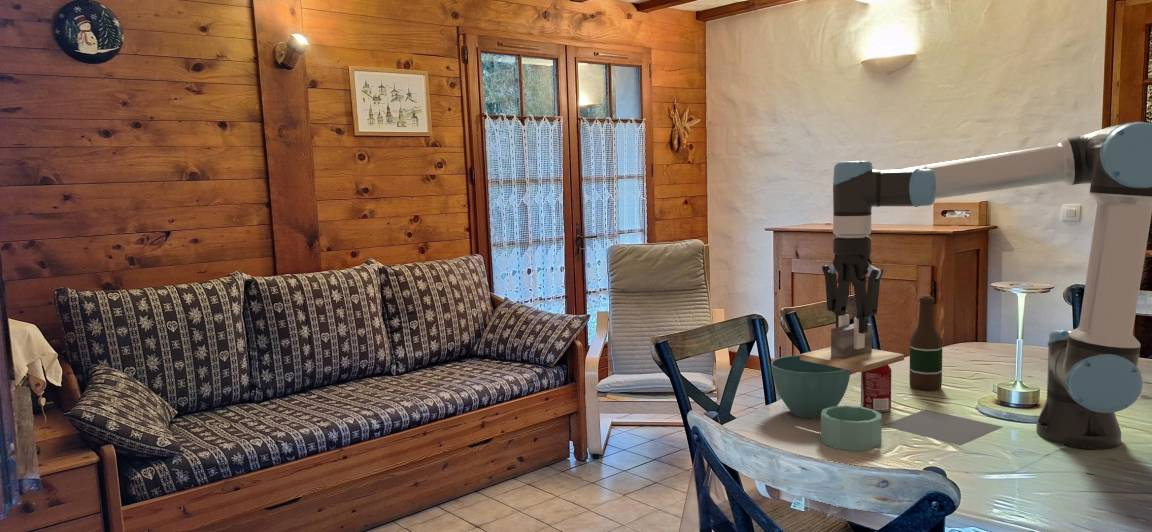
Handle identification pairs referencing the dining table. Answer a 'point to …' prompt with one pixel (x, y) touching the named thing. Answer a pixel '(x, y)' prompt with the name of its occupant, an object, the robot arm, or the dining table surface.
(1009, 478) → the dining table surface
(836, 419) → the bowl
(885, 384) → the soda can
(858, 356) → the lid
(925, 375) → the beer bottle
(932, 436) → the mat
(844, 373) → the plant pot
